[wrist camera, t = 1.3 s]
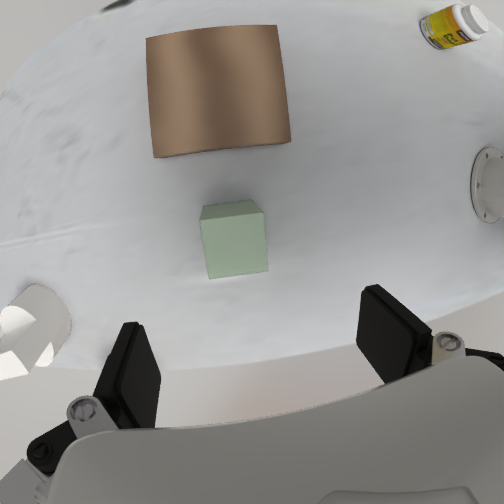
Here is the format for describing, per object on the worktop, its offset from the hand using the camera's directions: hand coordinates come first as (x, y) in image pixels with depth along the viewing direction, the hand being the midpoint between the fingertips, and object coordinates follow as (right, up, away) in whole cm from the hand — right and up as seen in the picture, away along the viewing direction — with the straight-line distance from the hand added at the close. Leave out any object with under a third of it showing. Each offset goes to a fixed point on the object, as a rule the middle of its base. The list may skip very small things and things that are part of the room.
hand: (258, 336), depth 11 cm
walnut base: (-4, +19, +13) cm, 24 cm away
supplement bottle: (+26, +35, +12) cm, 45 cm away
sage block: (-2, +6, +18) cm, 19 cm away
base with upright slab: (-28, -5, +19) cm, 34 cm away
